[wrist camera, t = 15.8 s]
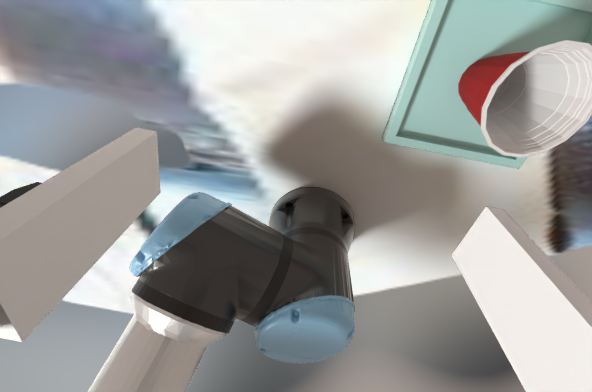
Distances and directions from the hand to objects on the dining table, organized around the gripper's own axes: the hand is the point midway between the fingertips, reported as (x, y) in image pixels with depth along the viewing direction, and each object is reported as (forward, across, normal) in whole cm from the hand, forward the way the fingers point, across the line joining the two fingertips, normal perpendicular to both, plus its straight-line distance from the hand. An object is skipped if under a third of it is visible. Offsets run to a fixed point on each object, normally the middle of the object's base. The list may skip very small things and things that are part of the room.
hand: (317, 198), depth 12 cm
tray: (+32, -21, -4) cm, 38 cm away
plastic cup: (+31, -21, -4) cm, 38 cm away
